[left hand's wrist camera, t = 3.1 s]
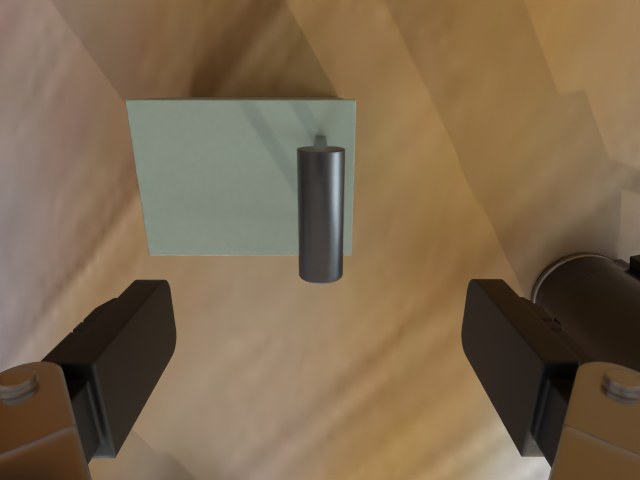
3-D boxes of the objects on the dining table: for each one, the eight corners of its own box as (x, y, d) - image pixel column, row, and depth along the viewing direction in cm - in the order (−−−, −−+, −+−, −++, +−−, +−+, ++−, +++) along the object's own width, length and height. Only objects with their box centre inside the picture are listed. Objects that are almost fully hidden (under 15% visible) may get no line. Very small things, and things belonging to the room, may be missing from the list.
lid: (354, 99, 25) (373, 103, 16) (350, 249, 29) (364, 319, 20) (132, 99, 25) (32, 103, 16) (155, 249, 29) (82, 319, 20)
